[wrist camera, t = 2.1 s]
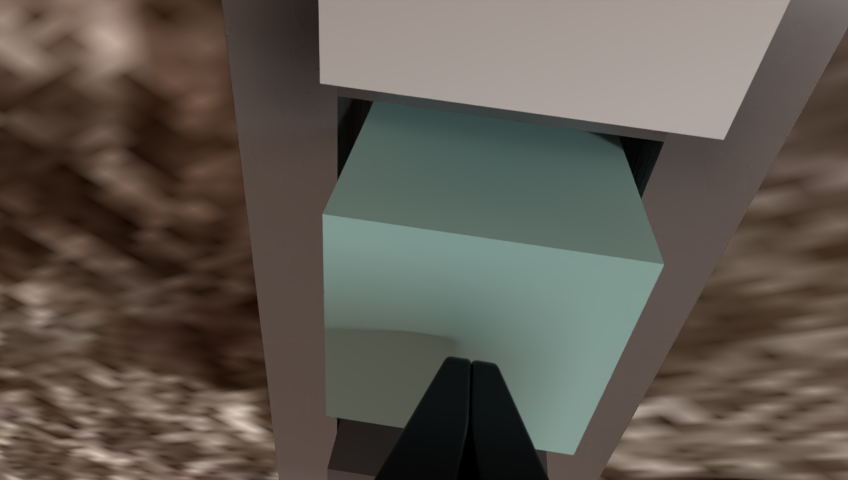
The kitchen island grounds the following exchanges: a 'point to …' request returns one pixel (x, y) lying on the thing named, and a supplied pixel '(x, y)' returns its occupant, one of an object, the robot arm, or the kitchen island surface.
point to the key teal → (482, 265)
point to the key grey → (558, 56)
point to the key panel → (349, 107)
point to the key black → (367, 450)
